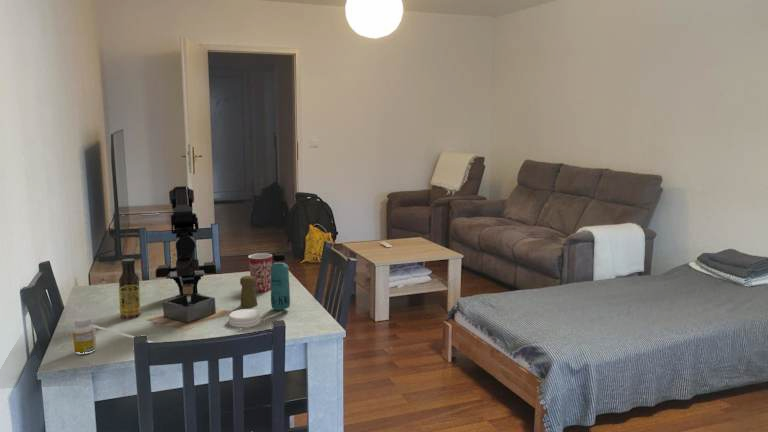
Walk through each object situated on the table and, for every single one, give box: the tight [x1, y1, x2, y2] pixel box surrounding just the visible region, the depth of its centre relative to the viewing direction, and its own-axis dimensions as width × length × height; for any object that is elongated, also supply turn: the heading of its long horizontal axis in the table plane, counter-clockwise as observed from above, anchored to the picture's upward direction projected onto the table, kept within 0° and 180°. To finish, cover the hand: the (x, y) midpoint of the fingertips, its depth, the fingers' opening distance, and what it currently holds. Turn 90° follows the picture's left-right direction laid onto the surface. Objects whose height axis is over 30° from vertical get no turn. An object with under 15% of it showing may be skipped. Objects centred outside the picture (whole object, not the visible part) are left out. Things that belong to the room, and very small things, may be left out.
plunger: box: [182, 284, 194, 306], centre depth 190 cm, size 9×9×10 cm
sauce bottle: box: [118, 258, 141, 320], centre depth 190 cm, size 6×6×20 cm
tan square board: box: [144, 307, 233, 331], centre depth 191 cm, size 20×20×1 cm
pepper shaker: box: [239, 275, 258, 309], centre depth 201 cm, size 6×6×11 cm
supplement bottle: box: [72, 316, 97, 353], centre depth 162 cm, size 5×5×10 cm
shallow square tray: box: [162, 293, 217, 324], centre depth 191 cm, size 14×12×6 cm
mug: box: [247, 252, 273, 293], centre depth 223 cm, size 13×9×14 cm
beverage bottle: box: [269, 252, 291, 310], centre depth 195 cm, size 6×7×20 cm
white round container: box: [228, 308, 262, 329], centre depth 185 cm, size 10×10×4 cm
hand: (188, 294), depth 190 cm, fingers closed on plunger, 3 cm apart
